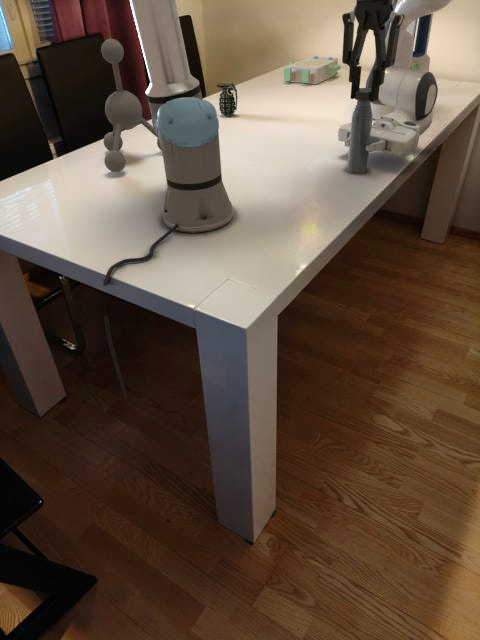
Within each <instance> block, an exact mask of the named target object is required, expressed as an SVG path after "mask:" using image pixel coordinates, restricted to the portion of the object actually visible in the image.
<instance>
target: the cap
mask: <svg viewBox="0 0 480 640" xmlns="http://www.w3.org/2000/svg"><path fill="white" fill-rule="evenodd" d="M370 97H371V88H366V87H359V88H358V89H356V90H355V99H354V100H356V101H357V100H359V101H369V100H370Z"/></svg>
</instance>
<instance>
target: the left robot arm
mask: <svg viewBox="0 0 480 640" xmlns="http://www.w3.org/2000/svg"><path fill="white" fill-rule="evenodd" d="M129 3H130V7H131V10H132V15H133V18H134V19H133V20H134V22H135V26H136V31H137V34H138V38H139V43H140V47H141V50H142V54H143V58H144V62H145V66H146V70H147V74H148V78H149V85H148V87H147V89H146V90H145V95H146V100H147V103H148V106H149V111H150V115H151V123H152V124H151V125H152V126H153V127H154V130H155V132H156V134H157V136H158V138H157V139H159V142H160V145H161V148H162V151H161V153H162V159H163V168H164V173H165V180H166V190H165V191H166V192H165V196H164V203H163V207H162V218H163V222H164V224H165V226H167V227H168V228H169V230H167V231H166V232H165V233H164V234H163V235H162V236H161V237H159V238H158V239H157V240H156V241H155V242H154V243H152V244H151V246H149V247H150V248H149V251H148V254H146V255H144V256H141V257H130V258H125V259H121V260H120V261H117V262H115V263H114V264H113V265H112V264H111V266H110V267H109V268H108V270H107V272H106V275H105V277H104V280H103V284H102V286H107V285H108V283H109V280H110V277H111V275H112V273H113V271H114V270H115V269H116V268H118V267H120V266H122V265H124V264H128V263H137V262H144V261H147V260H149V259H150V258H152V257H153V254H154V249H155V248H156V247H157V246H158V245H159V244H160V243H162V242H163V241H164V240H165V239H166V238H167V237H168V236H170V235H171V234H172V233H173V232H174V231H177V232H180V233H190V234H191V233H192V234H193V233H194V234H195V233H196V234H197V233H205V232H206V233H207V232H210V231H215V230H216V229H220V228H222V227H224V226H226V225H227V224H228V223H230V221H231V220H232V218H233V216H234V212H233V211H234V210H233V205H232V201H231V200H230V197H229V195H228V192H227V190H226V187H225V184H224V182H223V175H222V174H223V173H222V164H221V163H222V161H221V147H220V146H221V145H220V133H219V129H220V122H219V118H218V114H217V109H216V108H215V105H213V103H211V102H210V101H208V100H207V99H206V100H205V99H203V95H202V94H203V93H202V90H201V85H200V80H199V79H197V78H196V77H194V76H193V75H192V74H191V71H190V65H189V61H188V56H187V51H186V46H185V40H184V37H183V31H182V27H181V21H180V16H179V11H178V7H177V2H176V0H129ZM389 18H391V20H390V23H391V27H390V32H389V39H388V46H387V54H386V45H385V32H386V28H385V23H386V22H387V21H388V19H389ZM341 19H342V23H343V40H342V55H341V56H342V58H341V62H342V64H343V65H347V66H348V67H349V71H348V83H351V86H350V88H351V89H350V100H356V99H355V90H356V89H358V88H361V87H360V86H361V77H362V66H361V62H360V59H361V56H362V54H363V53H362V52H363V49H364V46H365V42H366V39H367V35H368V33H369V31H372V33H373V36H374V46H375V53H376V62H377V68H375V70H373V78H372V87H371V97H370V101H372V102H373V101H375V100H377V99H378V96H379V88H380V85H382V84H383V83H384V77H385V70H386V68H388V67H390V66H393V65H394V64H395V58H396V52H397V45H398V38H399V32H400V26H401V24H402V22H403V20H404V14H398V13H396V12H394V11H393V6H392V0H356V3H355V5H354V8H353V10H352V11H349V12H345V13H343V14H342V15H341ZM355 20H356V21H357V23H358V25H357V28H356V36H355V40H354V34H355V33H354V32H355ZM103 318H104V319H103V320H104V325H105V332H106V338H107V342H108V346H109V351H110V354H111V358H112V360H113V365H114V368H115V371H116V374H117V378H118V381H119V385H120V388H121V392H122V396H123V399H127V398H128V395H127V390H126V386H125V383H124V382H125V381H124V379H123V375H122V372H121V369H120V366H119V362H118V359H117V355H116V351H115V347H114V344H113V338H112V334H111V333H112V332H111V328H110V321H109V315H105V314H104V315H103Z"/></svg>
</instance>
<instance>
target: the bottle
mask: <svg viewBox="0 0 480 640" xmlns="http://www.w3.org/2000/svg"><path fill="white" fill-rule="evenodd" d="M370 104H371V101H370V100H369V101H359V100H356V105H355V107H354V110H353V113H352V116H351V122H350V123H351V135H350V146H349V147H348V157H347V158H348V159H347V172H348V173H351V174H355V175H356V174H359V175H360V174H364V173H366V172H367V171H368V163H369V154H370V152H367V151H365V149H366V145H367V144H369V143H370V137H371V128H372V125H373V120H374V119H373V117H372V116H373V114H372V108H371V105H370Z"/></svg>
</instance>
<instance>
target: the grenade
mask: <svg viewBox="0 0 480 640" xmlns="http://www.w3.org/2000/svg"><path fill="white" fill-rule="evenodd" d="M215 87H217V88H219V89H221V93H219V97H218V101H219V102H218V106H219V108H218V109H219V112H220V114H221V115H222V116H224V117H231V116H233V115H234V113H235V112H236V111H237V108H238V89H237V87H236V85H235V84H234V83H233V82H218V83H217V84H216V86H215ZM232 91H233V92H232ZM234 94H235V96H234Z"/></svg>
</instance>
